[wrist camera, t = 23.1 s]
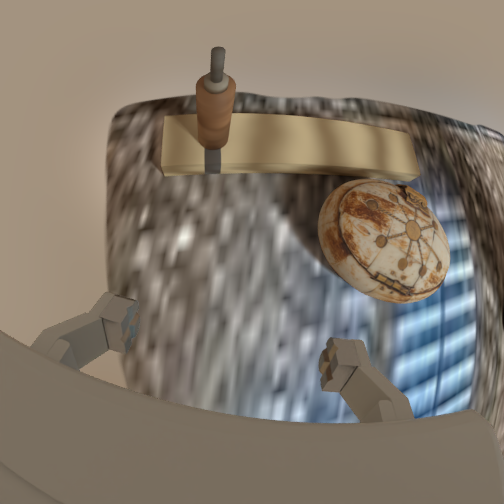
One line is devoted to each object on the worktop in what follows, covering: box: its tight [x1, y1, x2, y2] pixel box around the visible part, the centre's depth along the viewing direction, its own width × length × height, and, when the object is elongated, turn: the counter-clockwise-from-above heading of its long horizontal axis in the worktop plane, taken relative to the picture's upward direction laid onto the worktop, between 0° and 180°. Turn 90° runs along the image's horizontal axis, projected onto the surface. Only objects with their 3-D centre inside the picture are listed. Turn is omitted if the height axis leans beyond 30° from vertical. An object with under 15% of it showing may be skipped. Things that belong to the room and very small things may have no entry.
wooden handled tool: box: [196, 47, 236, 150], centre depth 20 cm, size 3×3×12 cm
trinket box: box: [318, 179, 450, 303], centre depth 26 cm, size 13×15×8 cm
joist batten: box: [161, 113, 421, 181], centre depth 29 cm, size 30×6×2 cm, turn 94°
